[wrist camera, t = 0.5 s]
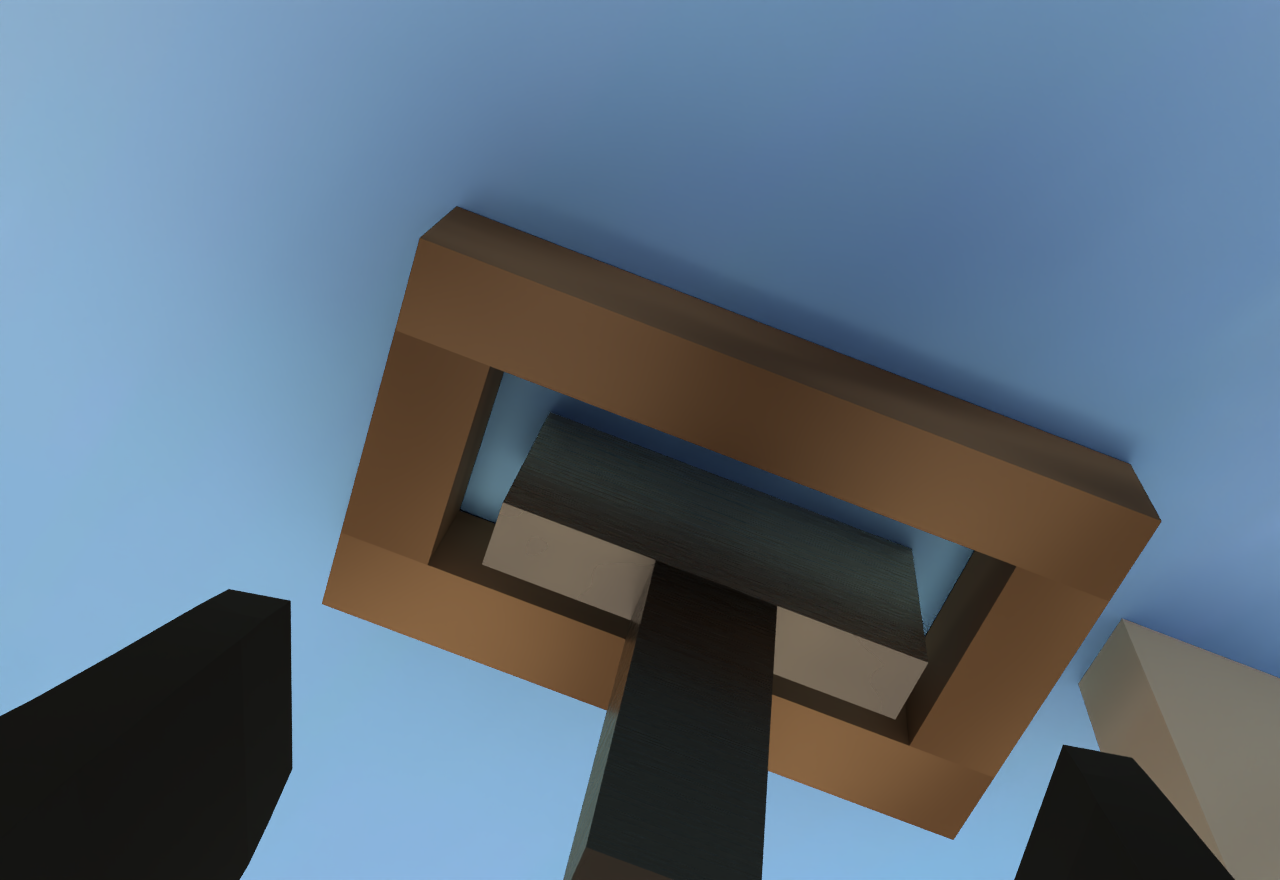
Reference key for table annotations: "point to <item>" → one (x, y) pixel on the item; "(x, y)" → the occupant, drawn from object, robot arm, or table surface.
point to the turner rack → (756, 435)
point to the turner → (700, 638)
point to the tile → (1196, 738)
